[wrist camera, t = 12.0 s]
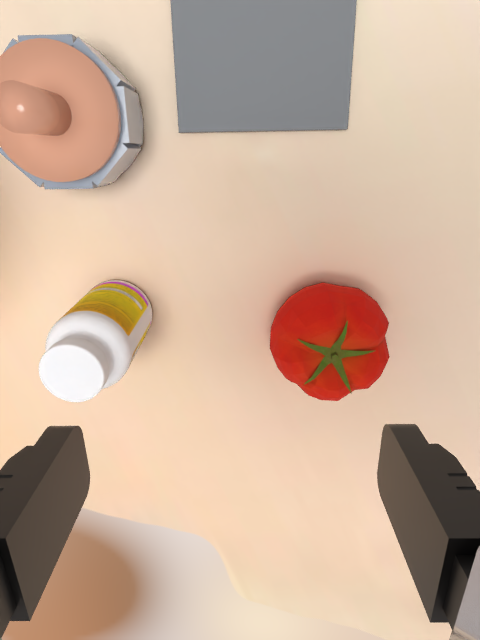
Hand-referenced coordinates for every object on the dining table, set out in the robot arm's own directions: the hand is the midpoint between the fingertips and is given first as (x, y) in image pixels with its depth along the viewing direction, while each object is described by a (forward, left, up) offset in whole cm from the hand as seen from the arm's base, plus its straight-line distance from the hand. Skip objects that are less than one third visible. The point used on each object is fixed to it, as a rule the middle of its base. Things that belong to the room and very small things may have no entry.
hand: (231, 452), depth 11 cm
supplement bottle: (+12, +7, -30) cm, 33 cm away
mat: (-2, -16, -30) cm, 34 cm away
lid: (+13, -10, -25) cm, 30 cm away
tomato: (-8, +9, -30) cm, 33 cm away
